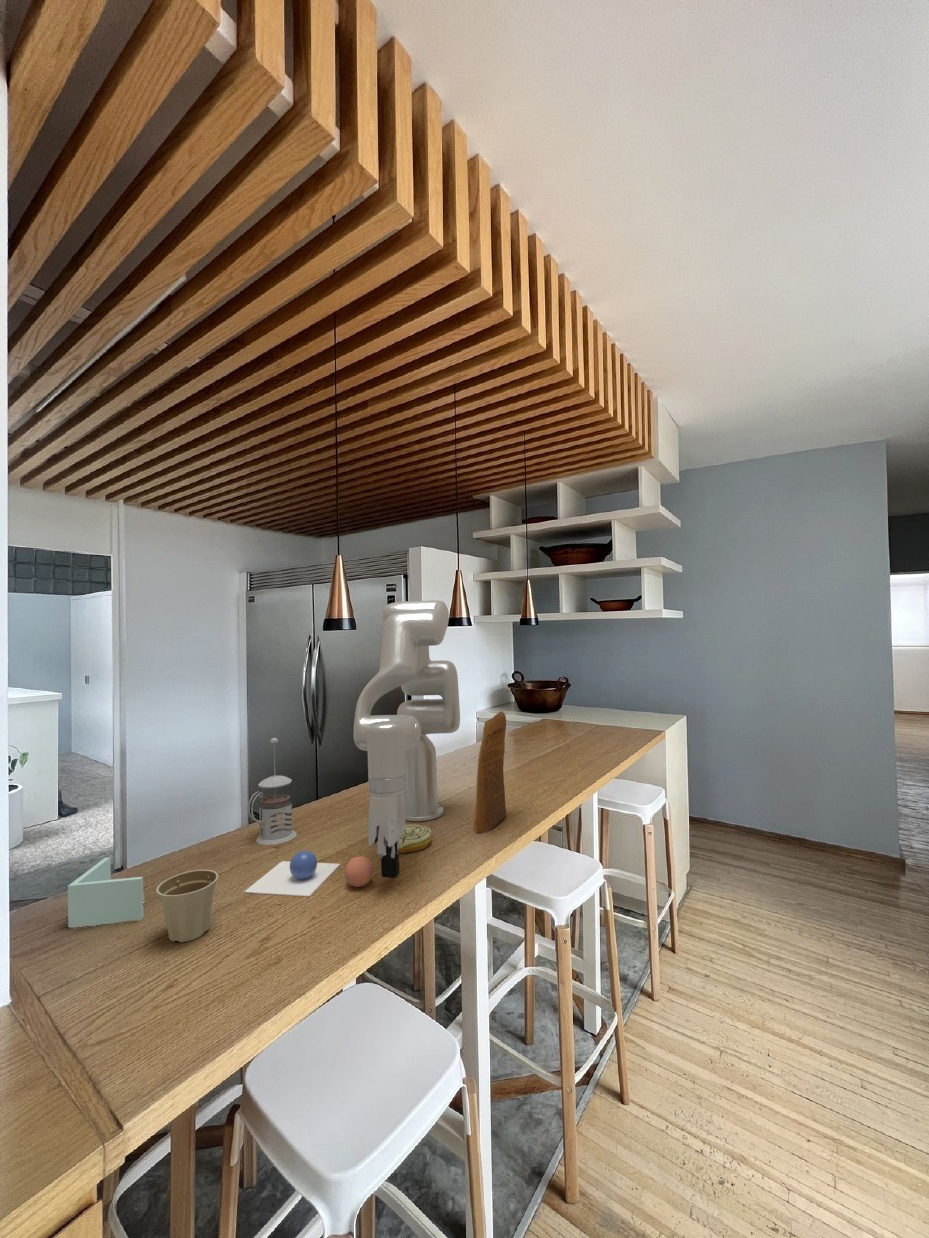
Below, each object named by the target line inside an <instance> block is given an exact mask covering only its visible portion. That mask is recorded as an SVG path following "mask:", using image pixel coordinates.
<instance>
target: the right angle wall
mask: <svg viewBox="0 0 929 1238" xmlns="http://www.w3.org/2000/svg"><path fill="white" fill-rule="evenodd" d="M111 859H112V858H111V857H110V856H109V857H104V858H103V859H101V860H100V861H99V862H98V863H96V864H95V865H93V866H92V867H91V868H89V869H88V870H86V872H84V873H83V874H81V875H80V876H79V877H78V878H76V879H75V880H74V881H72V882H71V883H70V884H68V885H67V916H68V917H67V921H68V922H67V928H68V927H83V926H85V927H83V928H87V927H86V926H92V927H97V926H96V925H100V924H110V923H114V922H115V923H117V922H123V921H127V920H128V921H129V920H141V919H142V918H143V917H145V913H144V906H145V905H144V906H143V903H144V902H145V903H146V900H145V893H144V876H136V877H129V878H127V877H126V878H116V879H115V878H113V879H112V874H111V873H112V872H111V868H112V865H111V862H112V861H111ZM110 876H111V877H110ZM143 900H145V901H143ZM93 925H94V926H93Z"/></svg>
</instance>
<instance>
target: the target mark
mask: <svg viewBox="0 0 929 1238" xmlns="http://www.w3.org/2000/svg"><path fill="white" fill-rule="evenodd" d="M290 862H291V861H284V860H281V861H280V862H279V863H278V864H276V865H275V866H274V867H273V868H272V869H270V870H269V871H268V872H267V873H265V874H264V875H263V876H261V878H259V879H258V880H256V881H255V882H254V883H253V884H252V885H251V886H249V887H248V888H246V889H245V890H244V891H243V893H244V894H255V895H257V894H258V895H272V896H289V897H290V896H291V897H294V896H295V897H306V898H307V897H309V898H310V897H311V896H312V895H313V894H314V893H315V892H316V891H317V889H319V888H320V887H321V886H322V885H323V884H324V882H326V880H327V879H328V878H330V876H332V874H334V872H335V871H336V870H337V869H338V868H339V867H340V866H341V863H332V862H331V863H329V862H317V868H316V871H315V872H314V874H313V875H312V876H311V877H309V878H307V879H304V880H299V879H296V878H295V877H293V875H292V874H291V872H290Z"/></svg>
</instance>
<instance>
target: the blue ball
mask: <svg viewBox="0 0 929 1238" xmlns="http://www.w3.org/2000/svg"><path fill="white" fill-rule="evenodd" d="M289 862H290V872H291V874H292V875H293V877H295V878H296V879H299V880H304V879H307V878H309V877H311V876H312V875H313V874H314V872H315V871H316V868H317V863H318V859H317V856H316V855H315V854H314V852H312V851H310V850H301V851H298V852H297V853H295V854H294V855H293V856H292V857H291V860H290V861H289Z"/></svg>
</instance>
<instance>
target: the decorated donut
mask: <svg viewBox="0 0 929 1238" xmlns="http://www.w3.org/2000/svg"><path fill="white" fill-rule="evenodd" d="M432 831H433V830H432V829H430V828H429V827H427V826H425V825H423V824H422V825H421V824H415V823H412V824H411V823H410V824H406V826H405V831H404V833H403V834H402V835H401V837H400V838H399V853H398V854H405V853H406V852H411V853H414V851H415V852H418V851H420V850H424V849H426V848H427V847H428V846H429V845H430V843H431V842H432V838H433V835H432V834H433V833H432Z"/></svg>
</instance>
